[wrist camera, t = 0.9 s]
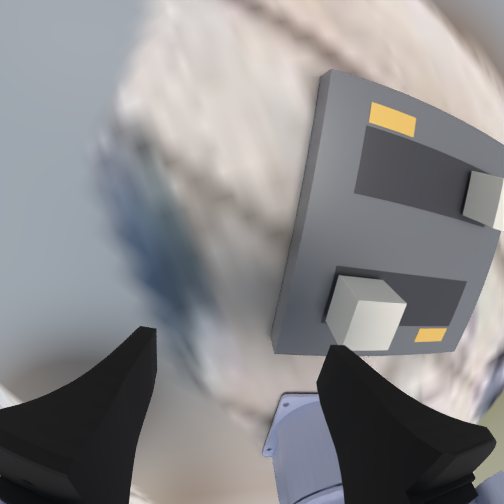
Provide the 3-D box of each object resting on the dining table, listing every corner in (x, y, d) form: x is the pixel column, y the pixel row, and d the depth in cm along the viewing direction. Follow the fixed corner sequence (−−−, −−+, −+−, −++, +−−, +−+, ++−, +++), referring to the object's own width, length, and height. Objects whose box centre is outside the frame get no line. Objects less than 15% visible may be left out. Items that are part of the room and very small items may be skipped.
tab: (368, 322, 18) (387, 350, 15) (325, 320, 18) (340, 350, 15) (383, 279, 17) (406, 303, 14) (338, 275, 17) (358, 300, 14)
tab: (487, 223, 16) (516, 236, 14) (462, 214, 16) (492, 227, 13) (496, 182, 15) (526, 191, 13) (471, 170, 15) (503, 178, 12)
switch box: (442, 338, 22) (454, 351, 21) (270, 335, 21) (274, 354, 19) (499, 150, 17) (516, 153, 15) (320, 76, 15) (331, 68, 13)
